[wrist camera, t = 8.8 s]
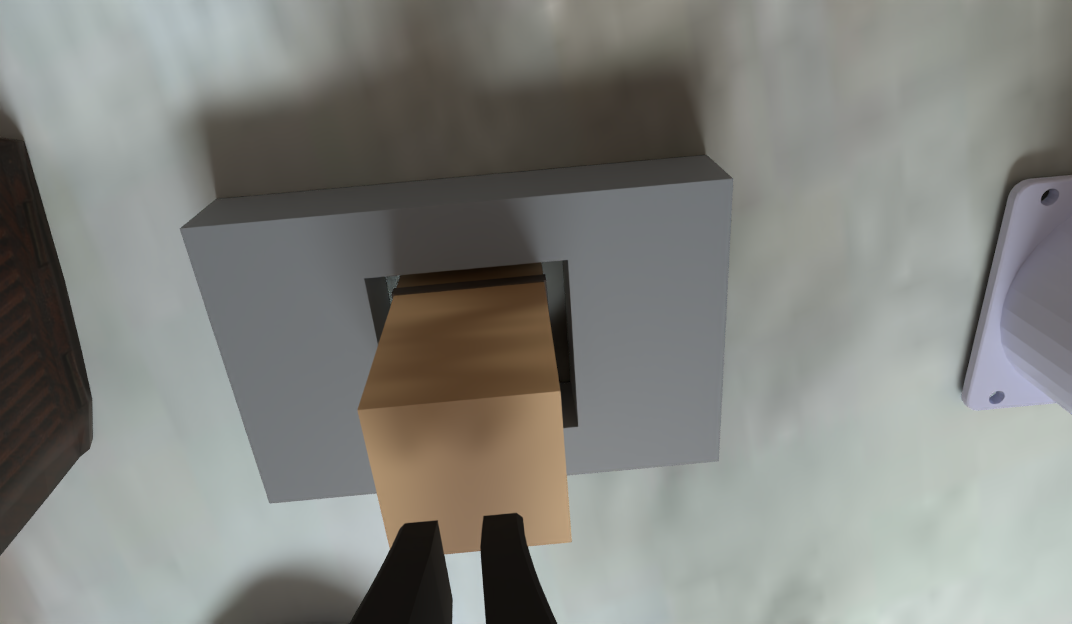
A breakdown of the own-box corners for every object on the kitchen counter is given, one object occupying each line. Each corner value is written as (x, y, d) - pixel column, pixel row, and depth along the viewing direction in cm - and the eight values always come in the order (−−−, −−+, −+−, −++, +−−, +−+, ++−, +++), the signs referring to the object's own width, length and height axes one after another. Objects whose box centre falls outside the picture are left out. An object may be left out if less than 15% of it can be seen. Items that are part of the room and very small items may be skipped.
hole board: (706, 154, 20) (733, 178, 17) (697, 414, 24) (718, 461, 21) (216, 199, 20) (180, 228, 17) (291, 452, 24) (269, 503, 21)
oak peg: (540, 244, 21) (562, 388, 14) (549, 361, 22) (573, 543, 15) (403, 256, 21) (354, 408, 13) (424, 373, 22) (390, 561, 15)
